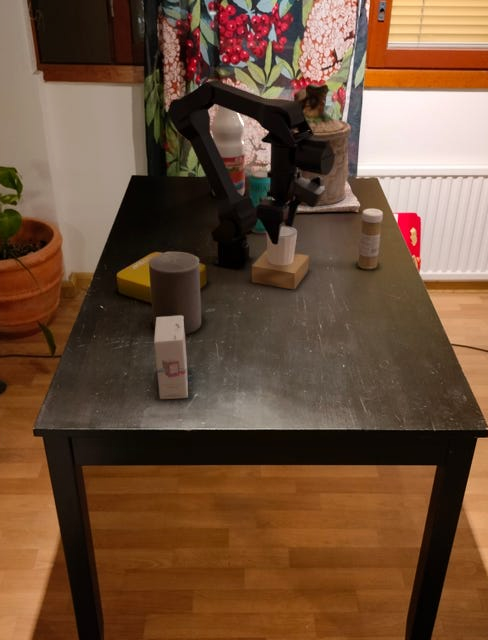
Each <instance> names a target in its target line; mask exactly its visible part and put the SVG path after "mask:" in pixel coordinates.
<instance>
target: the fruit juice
mask: <svg viewBox="0 0 488 640" xmlns="http://www.w3.org/2000/svg"><path fill="white" fill-rule="evenodd" d="M210 130H211V133H212V138H213V140H214V142H215V144H216V146H217V148H218V151H219V153H220V155H221V157H222V159H223V161H224V164H225V166H226V168H227V170H228V172H229V174H230V177H231V179H232V181H233V183H234V185H235V187H236V190H237V191H238V193H239V194H241V195H242V196H243V197H244V194H245V190H246V185H245V184H246V183H245V180H246V179H245V177H246V174H245V173H246V172H245V171H246V161H245V160H246V147H245V141H244V138H243V137H244V132H245V123H244V121H243V119H242V117H241V114H240V113H237V112H234V111H232V110H229V109H227V108H224V107H221V106H219V105H218V108H217V111H216V114H215V116H214V118H213V120H212V122H211V126H210ZM211 190H212V189H211ZM212 195H213V196H215V194H214V192H213V190H212ZM215 197H216V196H215Z"/></svg>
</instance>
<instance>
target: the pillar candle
mask: <svg viewBox="0 0 488 640" xmlns="http://www.w3.org/2000/svg"><path fill="white" fill-rule="evenodd" d="M161 253H162V254H158V255H156V256H154V257H152V258H151V259H150V261H149V273H150V287H151V301H152V304H151V313H152V324H153V328H154V329H155V326H156V317H164V316H179V315H182V316H183V317H184V331H185V335H188V334H189V335H190V334H191V333H194V332H196V331H197V330H199V328H200V327H201V326H202V300H201V299H202V297H201V289H200V274H199V263H200V258H199V257H198V256H196V255H194V254H192V253H189V252H183V251H165V252H161Z"/></svg>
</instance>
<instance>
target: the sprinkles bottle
mask: <svg viewBox="0 0 488 640" xmlns="http://www.w3.org/2000/svg"><path fill="white" fill-rule="evenodd" d="M361 213H362V214H361V231H360V239H359V240H360V241H359V249H358V262H357V265H358V267H359V268H361V269H363V270H373V269H374V270H375V268H377V266H378V255H379V251H380V250H379V249H380V241H381V228H382V222H383V217H384V213H383V211H382V210H380V209H378V208H365V209H363V210H362V212H361Z"/></svg>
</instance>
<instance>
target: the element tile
mask: <svg viewBox="0 0 488 640" xmlns="http://www.w3.org/2000/svg"><path fill="white" fill-rule="evenodd" d="M162 253H163V252H160V251H154V252H151V253H149V254H148V255H146V256H144V257H143V258H140V259H138V260H137V261H135V262H134V263H132V264H130V265H129V266H127V267H125V268H123V269H121V270H119V271H118V272H117V274H116V281H117V291H118V293H119V294H121V295H123V296H126V297H129V298H133V299H136V300H139V301H142V302H145V303H148V304H151V305H152V301H151V287H150V273H149V261H150V259H151V258H152V257H154V256H156V255H158V254H162ZM199 274H200V290H201V289H202V288H204V287H205V286H206V285H207V283H208V281H207V280H208V277H207V276H208V275H207V274H208V273H207V266H206V265H205V264H204V263H201V262H199Z"/></svg>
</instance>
